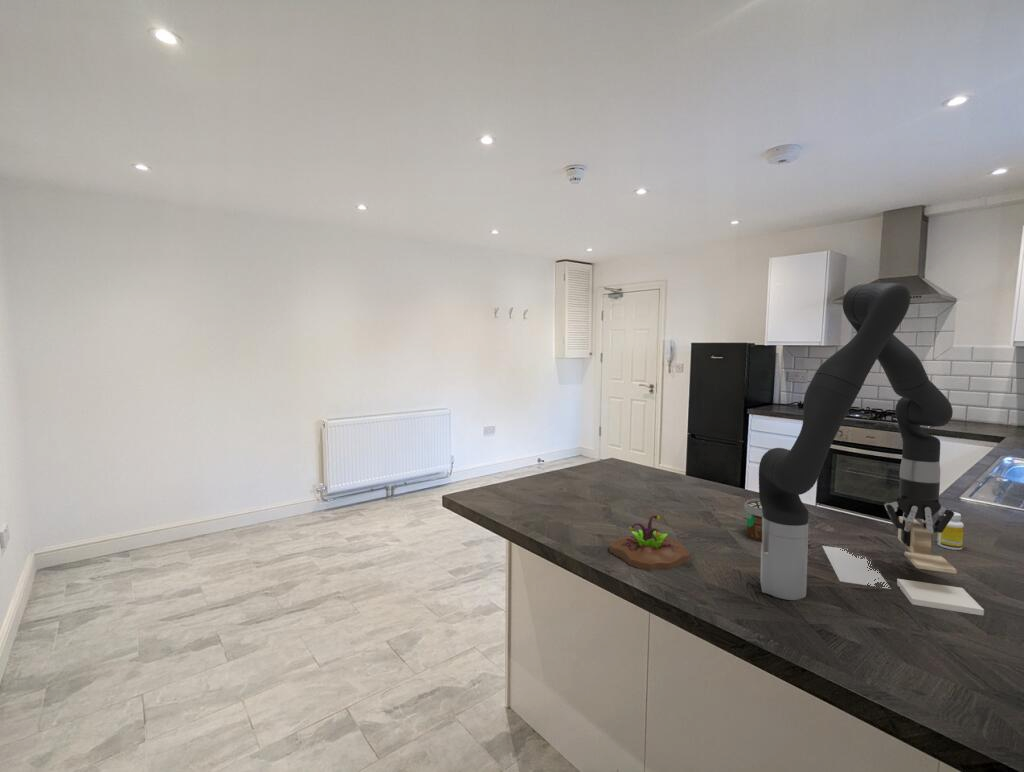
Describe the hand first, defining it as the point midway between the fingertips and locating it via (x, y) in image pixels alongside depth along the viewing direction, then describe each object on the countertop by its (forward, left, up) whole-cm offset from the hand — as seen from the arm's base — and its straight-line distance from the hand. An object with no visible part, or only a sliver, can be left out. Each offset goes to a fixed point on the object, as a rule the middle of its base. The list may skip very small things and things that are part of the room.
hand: (916, 545), depth 119 cm
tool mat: (-13, 0, -7) cm, 15 cm away
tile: (0, -8, -7) cm, 11 cm away
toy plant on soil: (-62, -11, -8) cm, 64 cm away
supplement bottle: (+15, +25, -8) cm, 30 cm away
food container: (-35, +15, -8) cm, 39 cm away
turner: (0, -2, -1) cm, 3 cm away
